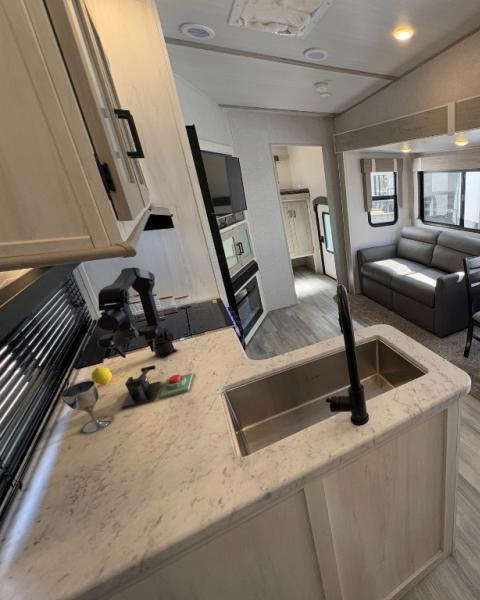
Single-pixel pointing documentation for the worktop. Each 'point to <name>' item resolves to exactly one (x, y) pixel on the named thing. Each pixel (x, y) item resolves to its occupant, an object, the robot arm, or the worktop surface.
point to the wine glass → (85, 403)
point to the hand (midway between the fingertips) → (139, 354)
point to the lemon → (101, 375)
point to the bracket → (140, 392)
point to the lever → (145, 370)
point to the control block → (176, 386)
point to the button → (174, 379)
